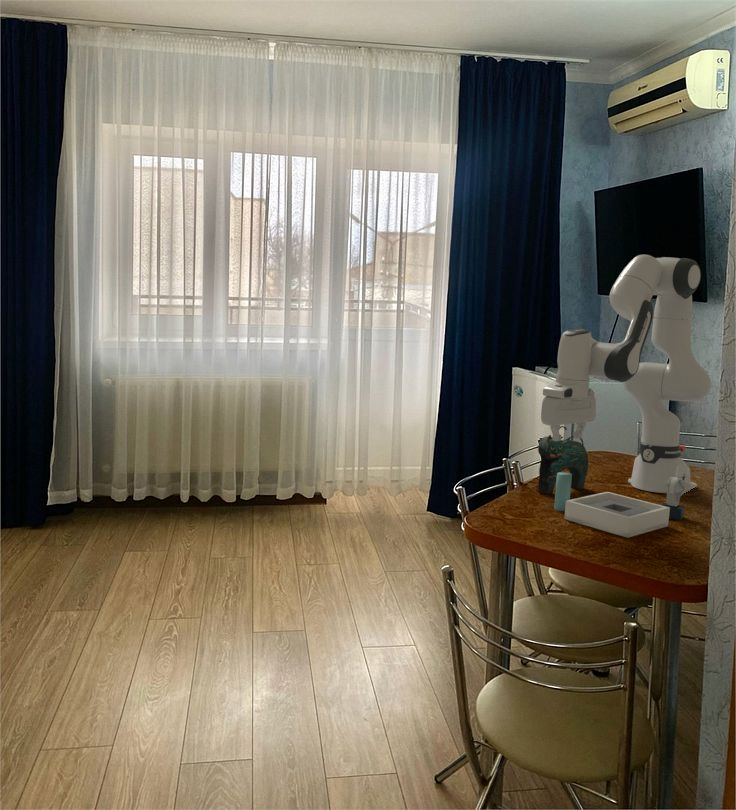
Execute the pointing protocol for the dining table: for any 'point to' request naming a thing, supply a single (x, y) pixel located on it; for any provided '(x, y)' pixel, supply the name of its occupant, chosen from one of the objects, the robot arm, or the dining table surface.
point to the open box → (617, 514)
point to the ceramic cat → (561, 462)
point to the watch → (675, 497)
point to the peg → (562, 490)
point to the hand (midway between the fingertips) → (567, 439)
